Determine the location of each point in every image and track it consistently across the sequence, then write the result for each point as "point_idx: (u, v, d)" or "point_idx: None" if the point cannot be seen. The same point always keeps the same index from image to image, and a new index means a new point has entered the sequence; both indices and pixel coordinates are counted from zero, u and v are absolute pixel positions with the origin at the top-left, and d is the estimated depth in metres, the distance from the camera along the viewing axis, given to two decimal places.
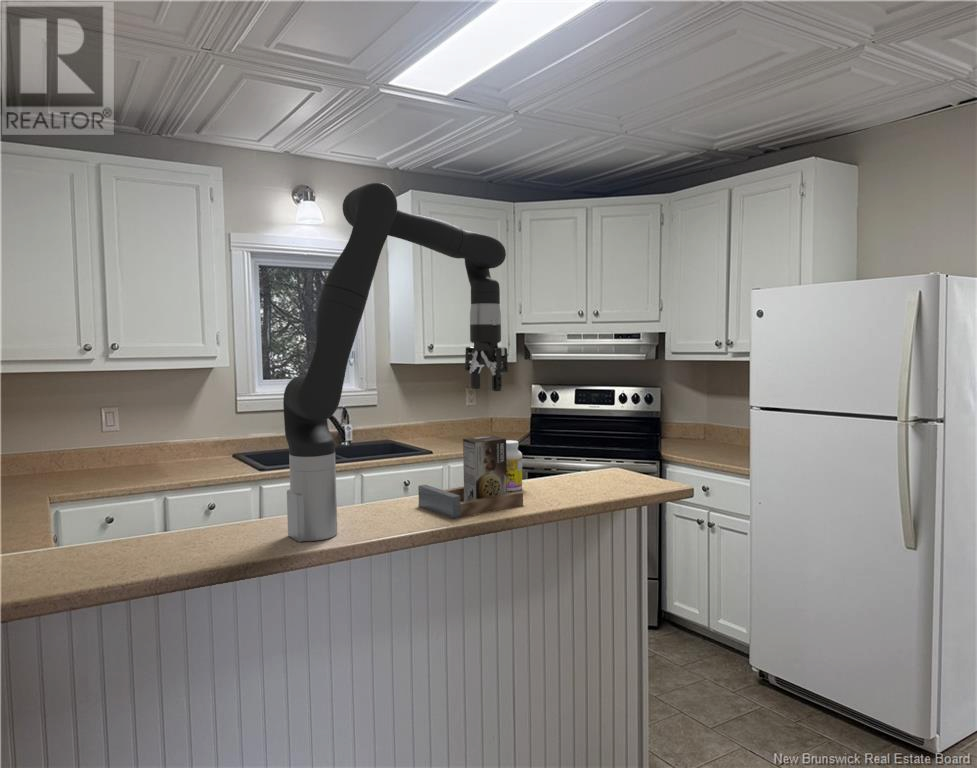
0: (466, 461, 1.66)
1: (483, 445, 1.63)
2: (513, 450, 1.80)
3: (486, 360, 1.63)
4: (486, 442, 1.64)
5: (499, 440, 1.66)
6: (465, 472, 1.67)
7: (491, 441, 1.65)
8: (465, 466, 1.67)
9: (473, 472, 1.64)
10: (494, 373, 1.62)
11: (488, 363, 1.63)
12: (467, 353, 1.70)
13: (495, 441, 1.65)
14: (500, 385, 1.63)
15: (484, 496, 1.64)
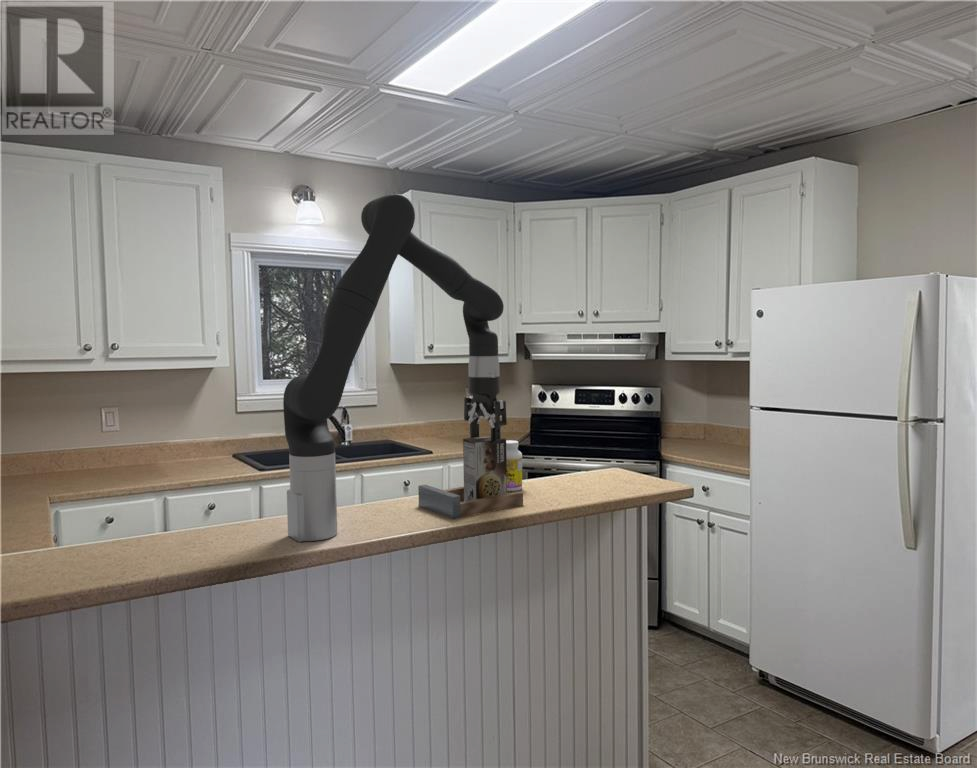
0: (466, 461, 1.66)
1: (483, 445, 1.63)
2: (513, 450, 1.80)
3: (485, 412, 1.64)
4: (486, 442, 1.64)
5: None
6: (465, 472, 1.67)
7: None
8: (465, 466, 1.67)
9: (473, 472, 1.64)
10: (493, 426, 1.62)
11: (487, 415, 1.63)
12: (466, 403, 1.71)
13: None
14: (499, 437, 1.63)
15: (484, 496, 1.64)
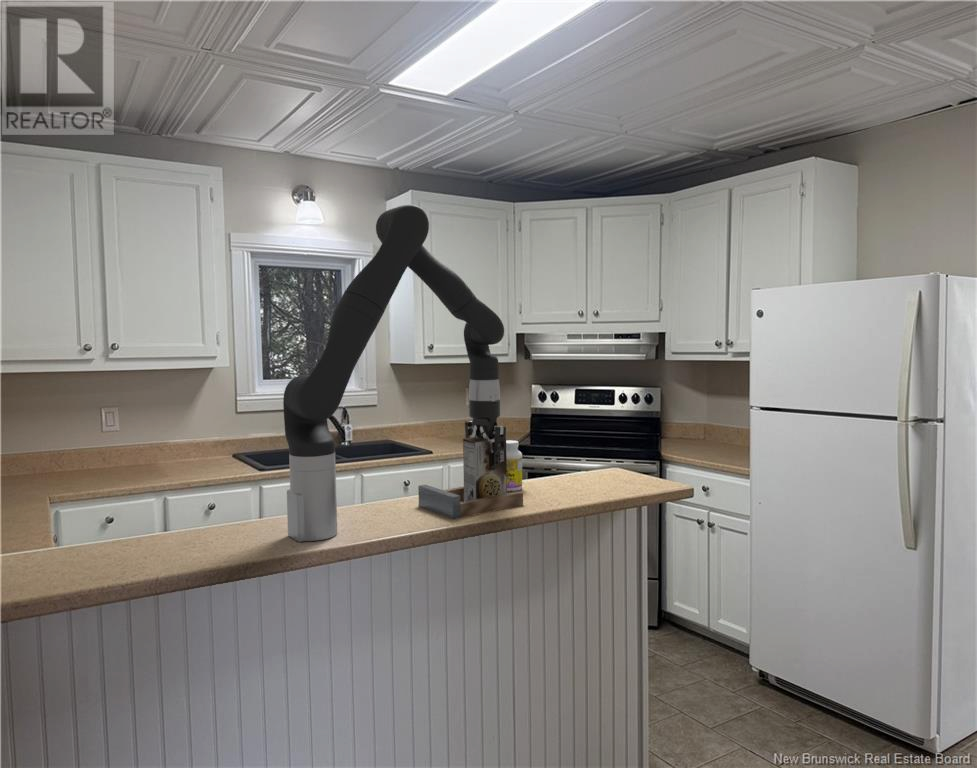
0: (466, 461, 1.66)
1: (483, 445, 1.63)
2: (513, 450, 1.80)
3: (484, 436, 1.64)
4: (486, 442, 1.64)
5: None
6: (465, 472, 1.67)
7: None
8: (465, 466, 1.67)
9: (473, 472, 1.64)
10: (491, 451, 1.63)
11: (486, 440, 1.64)
12: (467, 427, 1.71)
13: None
14: (497, 462, 1.64)
15: (484, 496, 1.64)
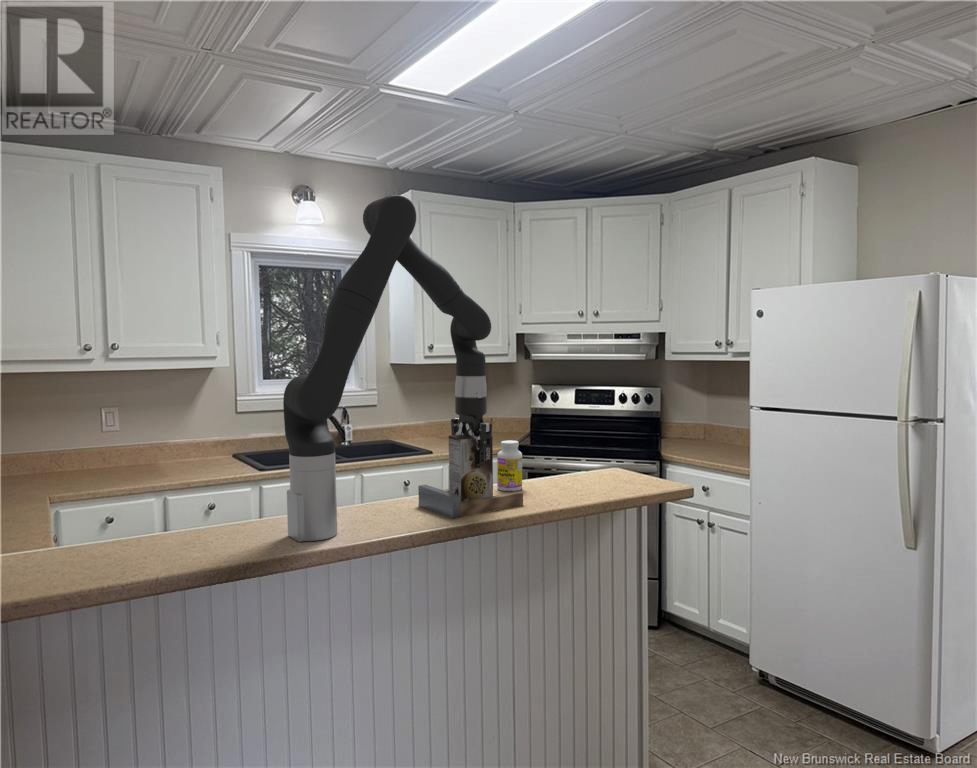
0: (452, 459, 1.64)
1: (468, 442, 1.61)
2: (514, 450, 1.80)
3: (470, 434, 1.62)
4: None
5: None
6: (450, 470, 1.64)
7: None
8: (450, 463, 1.64)
9: (458, 469, 1.61)
10: (477, 448, 1.61)
11: (472, 437, 1.61)
12: (453, 425, 1.68)
13: None
14: (483, 460, 1.62)
15: (469, 494, 1.62)
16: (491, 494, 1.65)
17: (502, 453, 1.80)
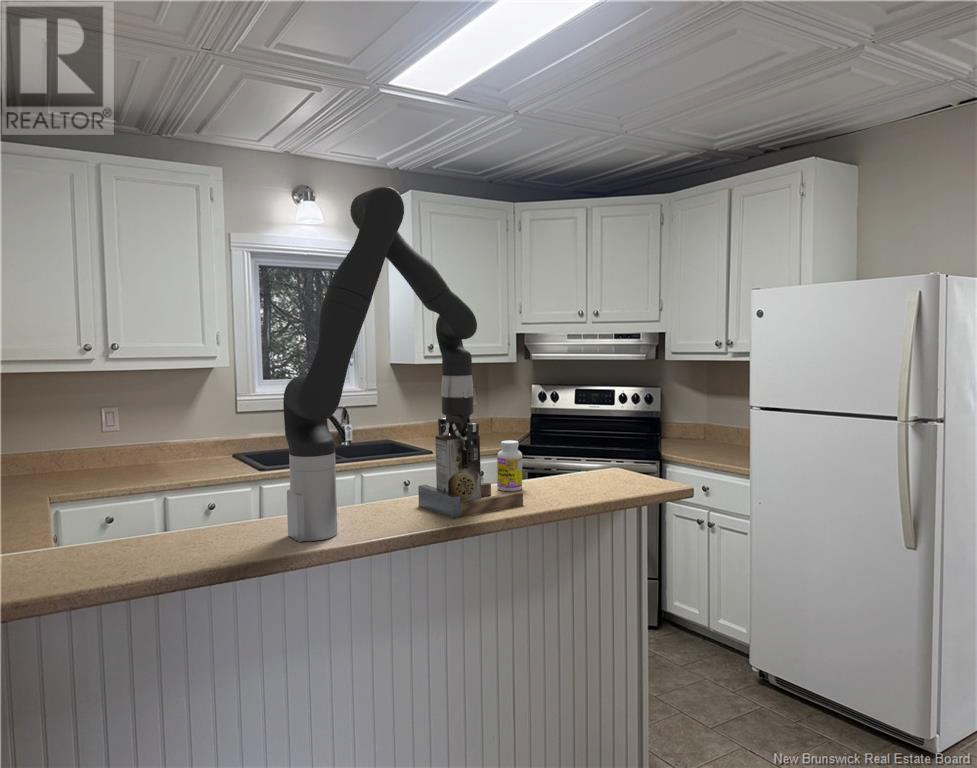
0: (439, 460, 1.61)
1: (455, 443, 1.59)
2: (513, 450, 1.80)
3: (457, 434, 1.59)
4: (458, 440, 1.59)
5: None
6: (438, 471, 1.62)
7: None
8: (437, 464, 1.62)
9: (445, 470, 1.59)
10: (464, 449, 1.58)
11: (459, 438, 1.59)
12: (440, 425, 1.66)
13: None
14: (470, 460, 1.59)
15: None
16: (479, 495, 1.63)
17: (502, 453, 1.80)
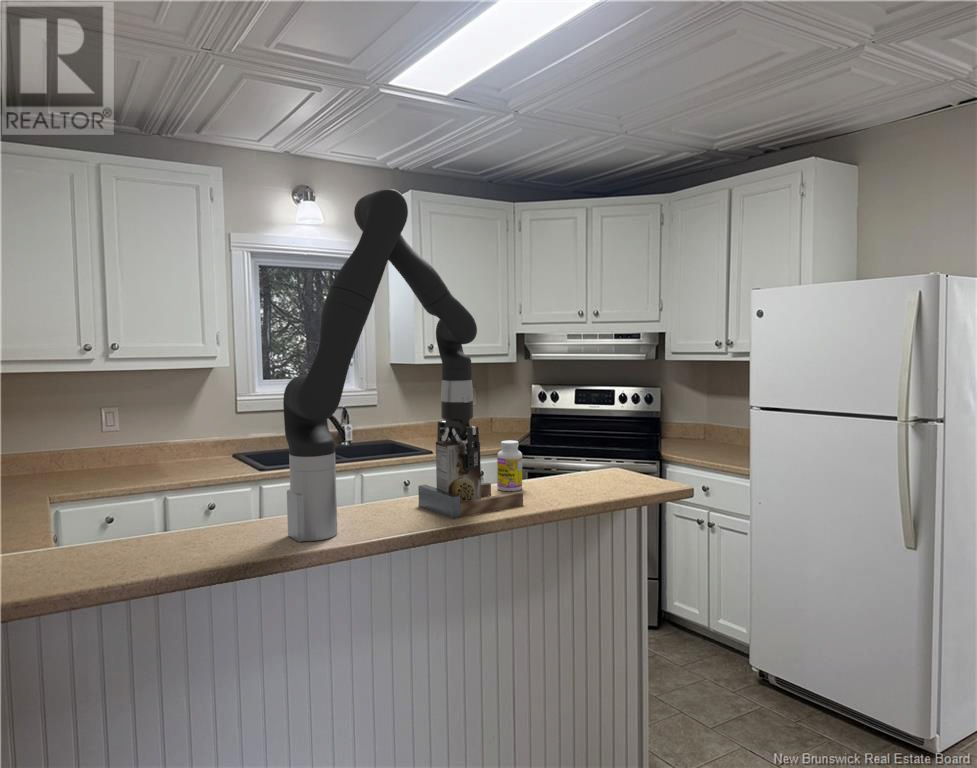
0: (439, 465, 1.61)
1: (455, 449, 1.59)
2: (513, 450, 1.80)
3: (457, 438, 1.59)
4: None
5: (473, 443, 1.61)
6: (438, 476, 1.62)
7: None
8: (438, 470, 1.62)
9: (446, 476, 1.59)
10: (465, 452, 1.58)
11: (459, 441, 1.59)
12: (439, 428, 1.66)
13: None
14: (471, 464, 1.59)
15: None
16: None
17: (502, 453, 1.80)
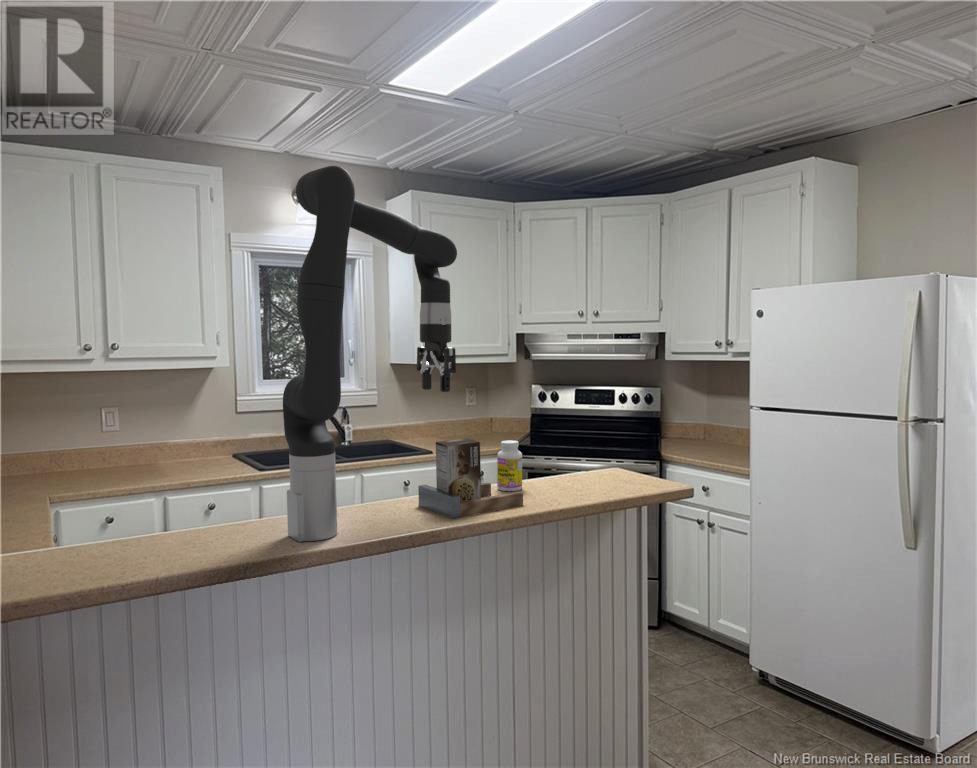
0: (439, 465, 1.61)
1: (455, 449, 1.59)
2: (513, 450, 1.80)
3: (435, 360, 1.60)
4: (459, 445, 1.59)
5: (473, 443, 1.61)
6: (438, 476, 1.62)
7: (464, 444, 1.60)
8: (438, 470, 1.62)
9: (446, 476, 1.59)
10: (442, 373, 1.59)
11: (436, 363, 1.60)
12: (418, 353, 1.68)
13: (468, 444, 1.60)
14: (448, 386, 1.60)
15: None
16: None
17: (502, 453, 1.80)
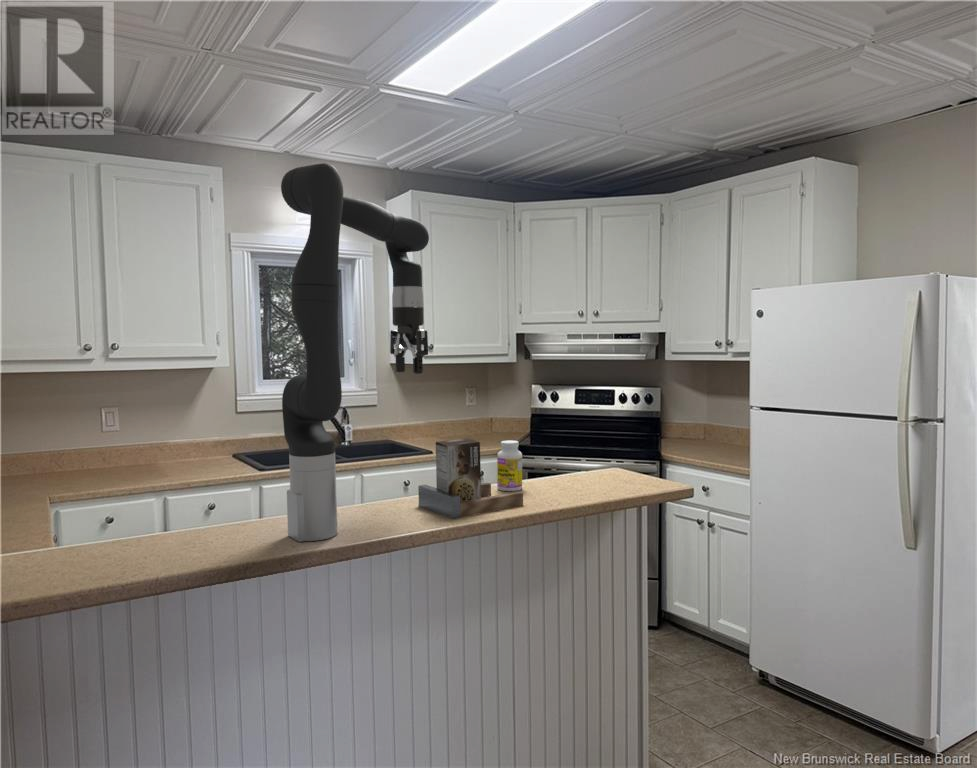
0: (439, 465, 1.61)
1: (455, 449, 1.59)
2: (513, 450, 1.80)
3: (407, 343, 1.64)
4: (459, 445, 1.59)
5: (472, 443, 1.61)
6: (438, 476, 1.62)
7: (464, 444, 1.60)
8: (438, 470, 1.62)
9: (446, 476, 1.59)
10: (415, 355, 1.62)
11: (409, 345, 1.63)
12: (392, 336, 1.71)
13: (468, 444, 1.60)
14: (421, 367, 1.63)
15: None
16: None
17: (502, 453, 1.80)
